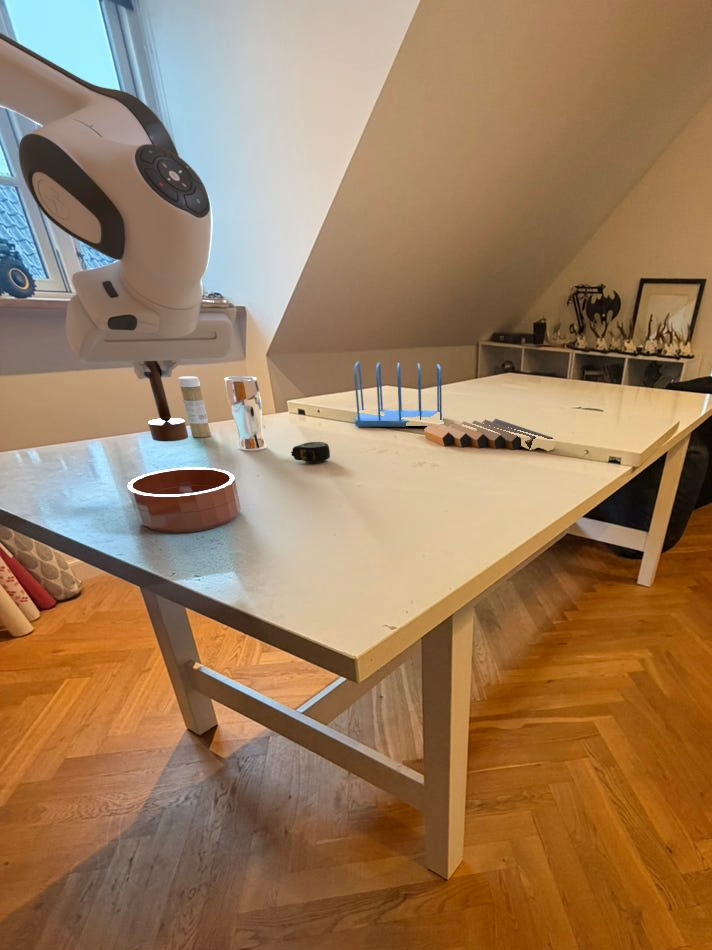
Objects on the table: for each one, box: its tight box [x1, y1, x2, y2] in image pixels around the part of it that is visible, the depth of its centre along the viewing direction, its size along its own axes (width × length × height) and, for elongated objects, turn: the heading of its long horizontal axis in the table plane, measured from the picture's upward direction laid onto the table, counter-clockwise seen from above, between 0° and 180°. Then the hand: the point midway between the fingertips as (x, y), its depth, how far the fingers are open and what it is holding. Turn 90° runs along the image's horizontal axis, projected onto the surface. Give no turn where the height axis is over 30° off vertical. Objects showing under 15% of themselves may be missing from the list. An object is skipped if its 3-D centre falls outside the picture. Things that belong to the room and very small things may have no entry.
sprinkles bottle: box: [177, 375, 212, 438], centre depth 132 cm, size 5×5×14 cm
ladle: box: [145, 361, 189, 442], centre depth 79 cm, size 5×5×16 cm
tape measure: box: [290, 441, 331, 463], centre depth 119 cm, size 7×7×4 cm
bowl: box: [127, 467, 242, 534], centre depth 87 cm, size 15×15×6 cm
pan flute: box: [423, 418, 554, 451], centre depth 140 cm, size 25×3×25 cm
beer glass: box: [224, 375, 268, 452], centre depth 124 cm, size 7×7×15 cm
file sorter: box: [353, 361, 443, 428], centre depth 155 cm, size 25×17×15 cm
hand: (152, 374), depth 79 cm, fingers closed on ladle
